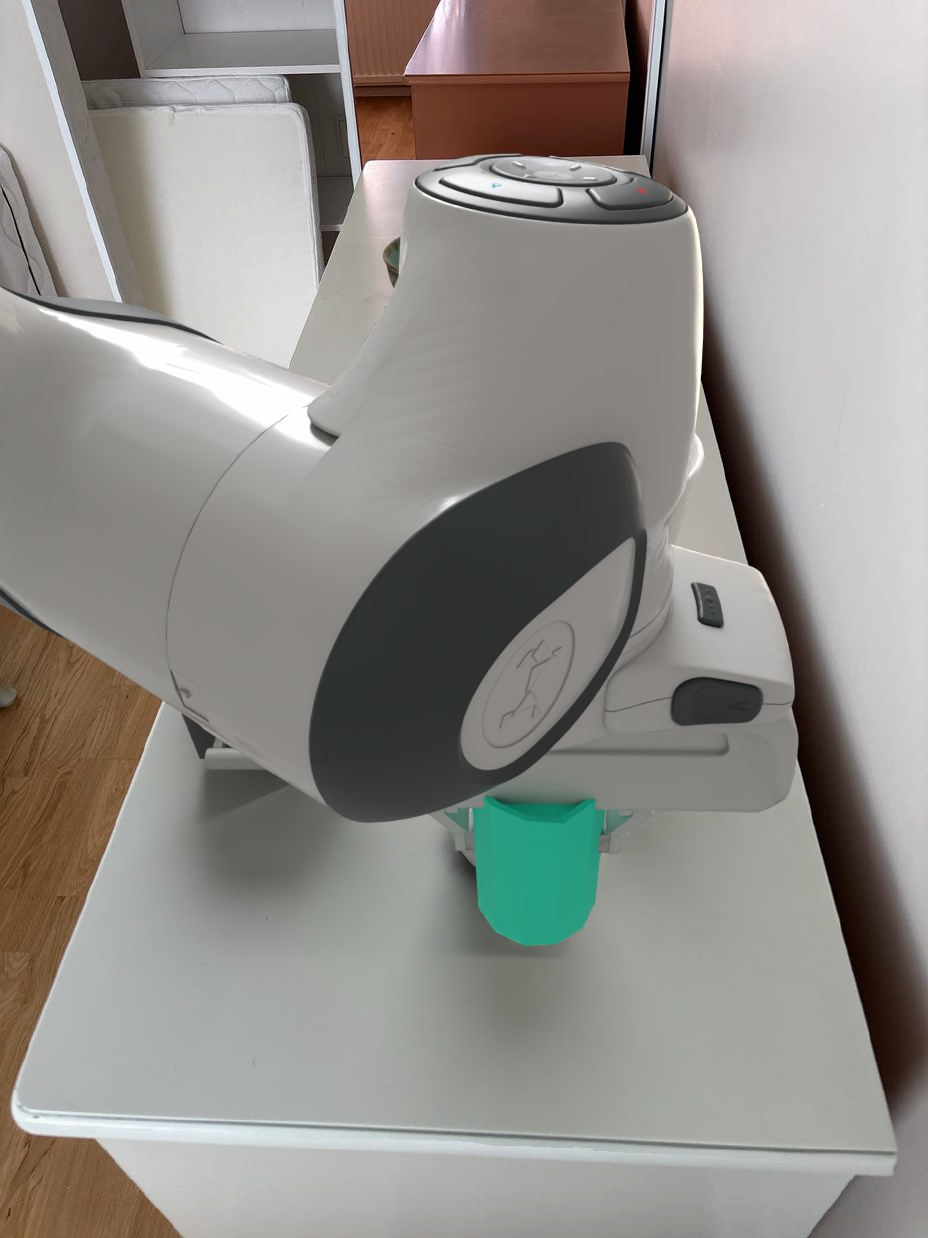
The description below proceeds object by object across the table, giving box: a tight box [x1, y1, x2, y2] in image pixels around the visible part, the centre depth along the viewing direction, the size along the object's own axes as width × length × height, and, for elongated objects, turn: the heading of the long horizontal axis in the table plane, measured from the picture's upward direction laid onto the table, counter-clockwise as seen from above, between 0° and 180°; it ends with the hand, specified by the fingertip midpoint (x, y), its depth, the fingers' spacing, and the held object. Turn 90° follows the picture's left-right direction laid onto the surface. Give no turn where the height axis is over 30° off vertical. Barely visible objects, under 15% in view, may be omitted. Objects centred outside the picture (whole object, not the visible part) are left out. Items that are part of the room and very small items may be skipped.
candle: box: [472, 796, 605, 947], centre depth 43 cm, size 6×6×12 cm
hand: (537, 839), depth 44 cm, fingers closed on candle, 5 cm apart
